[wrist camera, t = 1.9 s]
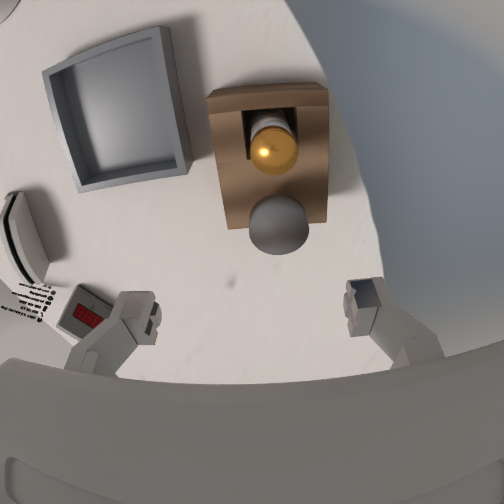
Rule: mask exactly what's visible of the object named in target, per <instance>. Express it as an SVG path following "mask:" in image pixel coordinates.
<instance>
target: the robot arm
mask: <svg viewBox="0 0 504 504" xmlns="http://www.w3.org/2000/svg"><path fill="white" fill-rule="evenodd" d="M18 2H19V0H0V23H1V22H3V21H4V20H5V19H6V18H7V17H8V15H9V14H10V13H11V12H12V11H13V9H14V8H15V6H16V5H17V3H18ZM346 290H347V292H346V293H345V294H344V300H343V307H344V313H345V316H346V317H347V318H348V324H347V325H348V329H349V333H350V337H357V336H367V335H370V337H371V338H372V339H373V341H374V342H375V343H376V344H377V345H378V346H379V347H380V348H381V349H382V350H383V351H384V352H385V353H386V354H387V355H388V356H389V357H390V359H391V360H392V361H393V362H394V363H393V364H392V366H391V368H390V370H386V371H380V372H374V373H368V374H361V375H354V376H347V377H339V378H331V379H322V380H311V381H300V382H286V383H268V384H185V383H167V382H154V381H142V380H132V379H123V378H119V377H118V376H117V375H116V374H115V372H116V371H117V370H118V369H119V368H120V366H121V365H122V364H123V363H124V362H125V360H126V359H127V358H128V357H129V356H130V355H131V353H132V352H133V351H134V350H135V349H136V348H137V346H138V345H155V342H156V339H157V335H158V332H157V330H156V328H157V327H158V326H159V325H160V323H161V317H162V313H161V308H160V306H159V304H158V303H156V302H155V298H156V297H155V295H154V293H153V292H151V291H122V292H120V293H119V295H118V297H117V300H116V302H115V304H114V307H113V309H112V312H111V314H110V317H109V319H105V320H104V321H103V322H101V323H100V324H99V325H98V326H97V327H96V328H94V329H93V330H92V331H91V332H90V333H89V334H88V335H86V336H85V337H84V338H83V339H82V340H81V341H80V342H78V343H77V344H76V345H75V346H74V347H73V348H72V349H71V352H70V354H69V357H68V359H67V362H66V365H65V367H64V369H59V368H55V367H50V366H46V365H41V364H37V363H33V362H28V361H24V360H21V359H17V358H9V359H8V360H6V361H5V362H4V363H2V364H1V365H0V504H504V340H502V341H499V342H496V343H493V344H490V345H487V346H483V347H480V348H478V349H474V350H470V351H467V352H464V353H460V354H457V355H453V356H449V357H445V356H444V353H443V350H442V348H441V345H440V343H439V340H438V338H437V336H436V334H435V333H434V332H432V331H431V330H430V329H428V328H427V327H426V326H425V325H423V324H422V323H421V322H419V321H418V320H417V319H416V318H414V317H413V316H412V315H410V314H409V313H408V312H406V311H405V310H404V309H402V308H401V307H400V306H398V305H394V303H393V301H392V298H391V296H390V294H389V291H388V289H387V286H386V284H385V282H384V279H383V278H382V277H374V278H364V279H354V280H347V282H346Z"/></svg>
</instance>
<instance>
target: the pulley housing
mask: <svg viewBox="0 0 504 504" xmlns="http://www.w3.org/2000/svg"><path fill="white" fill-rule="evenodd" d="M206 103H207V110H208V116H209V122H210V128H211V134H212V140H213V146H214V152H215V158H216V164H217V170H218V176H219V182H220V187H221V193H222V199H223V205H224V210H225V216H226V221H227V227H228V230H229V229H241V228H249V235H250V239H251V241H252V243H253V244H254V245H255V246H256V247H257V248H258V249H259V250H261V251H263V252H265V253H268V254H272V255H283V254H288V253H291V252H293V251H295V250H297V249H298V248H300V247H301V246H302V245H303V244H304V243H305V241H306V239H307V237H308V234H309V225H308V224H310V223H325V222H326V221H327V200H328V168H329V105H328V89H326V88H324V87H323V86H321V85H320V84H318V83H282V84H266V85H253V86H243V87H234V88H226V89H218V90H213V91H212V92H211V93H210V94H209V96H208V97H207V98H206ZM281 107H290V108H291V124H292V135H293V138H294V140H295V143H296V145H297V148H298V159H297V162H296V164H295V165H294V166H293V168H292V169H291V170H289V171H288V172H286V173H284V174H281V175H267V174H264V173H262V172H261V171H259V170H258V169H257V168H256V167H255V166H254V165H253V163H252V160H251V156H250V149H251V142H248V139H247V131H246V122H245V114H244V110H254V109H266V108H281Z"/></svg>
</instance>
